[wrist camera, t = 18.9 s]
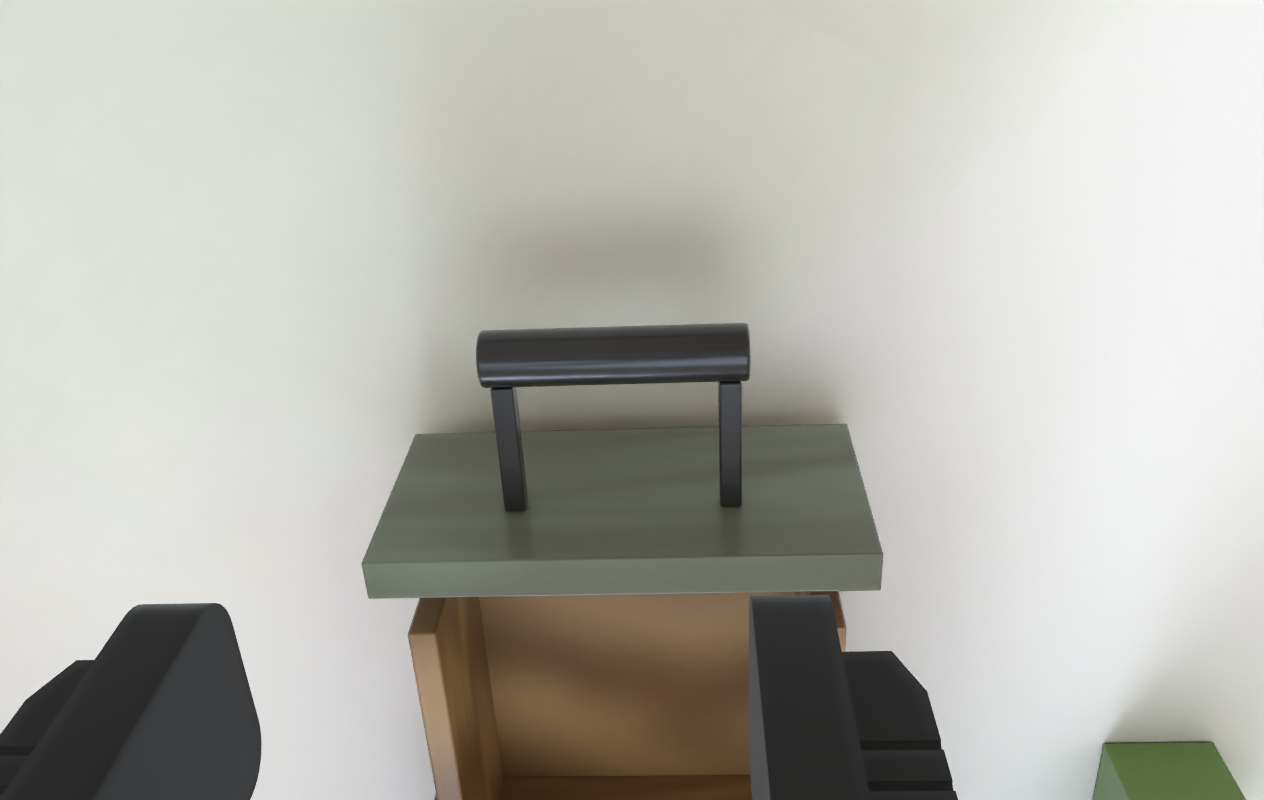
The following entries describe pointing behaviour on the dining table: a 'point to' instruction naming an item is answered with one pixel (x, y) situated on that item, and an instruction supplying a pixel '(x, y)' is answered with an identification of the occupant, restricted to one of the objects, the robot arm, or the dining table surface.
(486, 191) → the dining table surface
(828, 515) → the drawer
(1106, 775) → the green rectangular block
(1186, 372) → the dining table surface
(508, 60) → the dining table surface
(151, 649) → the robot arm
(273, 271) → the dining table surface
